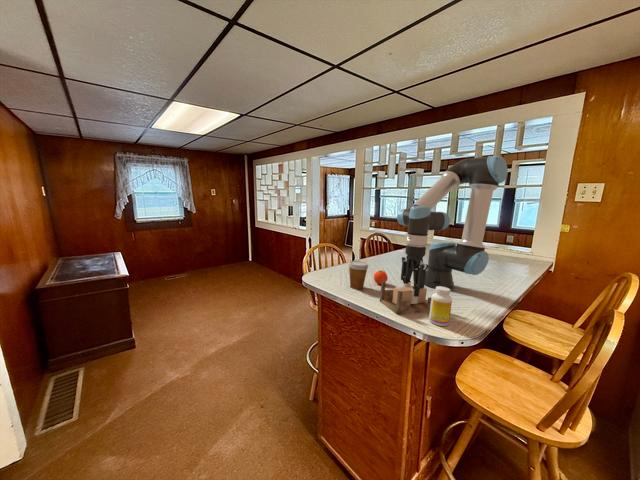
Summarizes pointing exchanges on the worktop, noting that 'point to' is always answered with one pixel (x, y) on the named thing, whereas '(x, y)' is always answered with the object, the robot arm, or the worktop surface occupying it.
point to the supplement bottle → (440, 306)
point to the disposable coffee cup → (357, 274)
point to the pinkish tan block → (409, 294)
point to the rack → (402, 302)
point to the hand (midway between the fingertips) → (409, 300)
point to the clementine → (380, 277)
